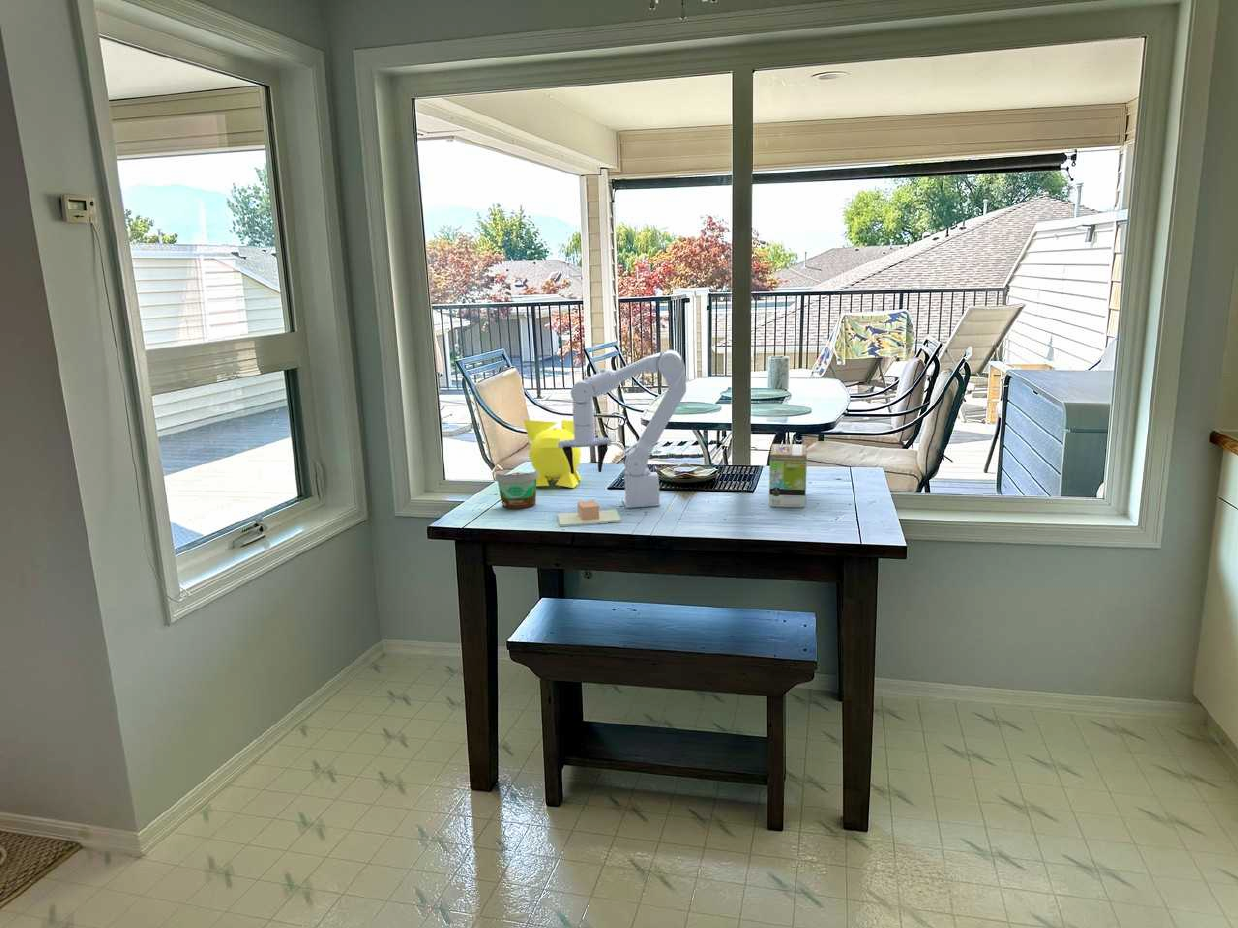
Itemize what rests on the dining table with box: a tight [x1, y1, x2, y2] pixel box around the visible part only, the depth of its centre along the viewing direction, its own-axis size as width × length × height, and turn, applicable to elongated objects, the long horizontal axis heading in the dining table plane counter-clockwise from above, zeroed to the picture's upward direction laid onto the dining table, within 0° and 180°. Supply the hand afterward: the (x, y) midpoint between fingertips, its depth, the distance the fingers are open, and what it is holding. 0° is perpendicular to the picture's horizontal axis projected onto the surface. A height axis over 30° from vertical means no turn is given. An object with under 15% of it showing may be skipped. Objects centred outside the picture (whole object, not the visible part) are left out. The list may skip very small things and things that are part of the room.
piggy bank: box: [523, 419, 582, 489], centre depth 271 cm, size 20×20×19 cm
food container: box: [494, 469, 539, 511], centre depth 245 cm, size 12×6×10 cm, turn 101°
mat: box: [557, 509, 622, 528], centre depth 233 cm, size 16×10×1 cm, turn 97°
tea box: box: [768, 443, 808, 508], centre depth 242 cm, size 15×10×15 cm, turn 168°
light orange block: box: [577, 499, 600, 520], centre depth 233 cm, size 6×4×4 cm
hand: (586, 472), depth 245 cm, fingers open, 7 cm apart
